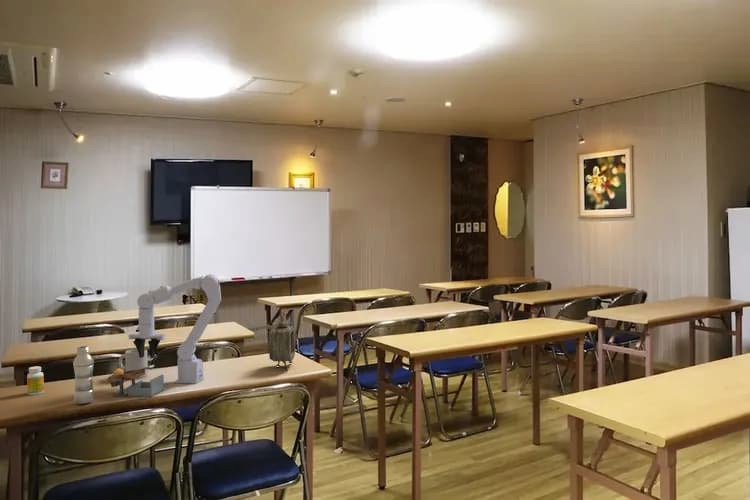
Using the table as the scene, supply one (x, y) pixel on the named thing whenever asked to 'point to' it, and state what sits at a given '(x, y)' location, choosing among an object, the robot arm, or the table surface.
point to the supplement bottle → (35, 381)
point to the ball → (118, 372)
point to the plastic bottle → (83, 376)
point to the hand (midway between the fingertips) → (147, 357)
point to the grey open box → (147, 387)
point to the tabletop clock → (282, 342)
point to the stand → (122, 391)
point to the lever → (128, 375)
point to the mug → (134, 361)
